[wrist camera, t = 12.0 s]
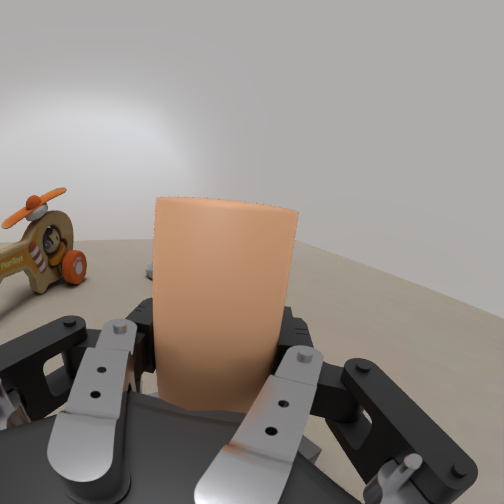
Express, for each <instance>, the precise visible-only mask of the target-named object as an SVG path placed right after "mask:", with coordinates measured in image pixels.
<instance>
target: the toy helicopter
mask: <svg viewBox="0 0 504 504" xmlns="http://www.w3.org/2000/svg"><path fill="white" fill-rule="evenodd" d="M65 192H66V188H57V189H55V190H52V191H50V192H48V193H46V194H44V195H42V196H41V197H38V196H35V195H33V196H31V197H29V198H28V200H27V201H26V207H24V208H22V209H21V210H19V211H18V212H16V213H15V214H13V215H12V216H10V217H9V218H8V219H6V220H5V221H4V222H3V223H2V228H3V229H8V228H10V227H12V226H13V225H14V224H16V223H17V222H18V221H20V220H22V219H23V218H24V217H25V218H26V220H28V221H32V222H31V223H30V224H29V226H28V227H27V229H26V231H25V233H24V235H23V237H22V239H21V240H20V241H19V242H17V243H15V244H13V245H10V246H8V247H6V248H4V249H1V250H0V283H1V281H2V279H3V278H5V277H8V276H10V275H12V274H15V273H17V272H20V271H22V270H24V272H25V273H26V275H27V276H28V278H29V282H30V287H31V289H32V290H33V291H34V292H37V293H41V294H42V293H44V292H45V291H46V289H47V287H48V285H49V284H50V283H53V282H55V281H57V280H58V279H60V278H61V277H62V275H63V277H64V279H65V281H67V282H68V283H72V284H79V283H81V282H82V280H83V279H84V277H85V274H86V268H87V263H86V257H85V255H84V254H83V253H82V252H81V251H77V250H73V228H72V223H71V220H70V218H69V217H68V216H67V215H66V214H65V213H64V212H61V211H47V210H48V206H47V203H46V202H47V201H49V200H51V199H52V198H55V197H57V196H59V195H61V194H63V193H65ZM49 226H50V227H51V228H47V227H49Z"/></svg>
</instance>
